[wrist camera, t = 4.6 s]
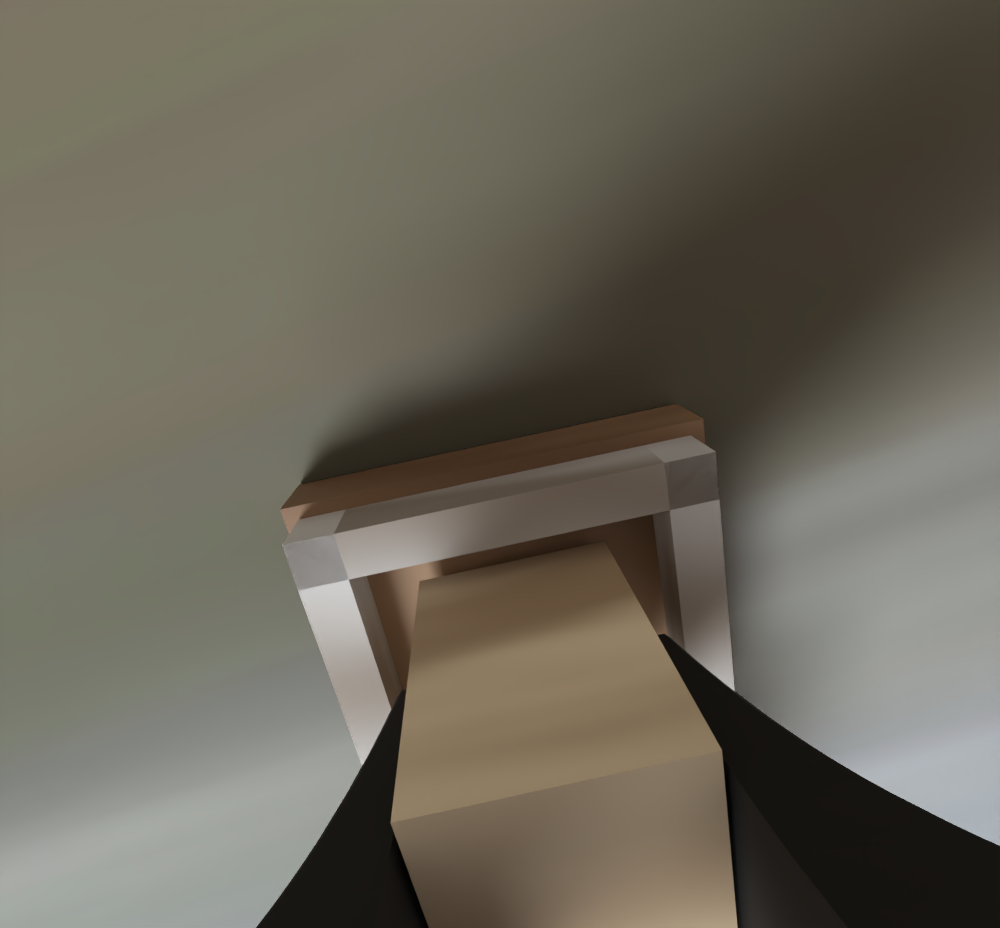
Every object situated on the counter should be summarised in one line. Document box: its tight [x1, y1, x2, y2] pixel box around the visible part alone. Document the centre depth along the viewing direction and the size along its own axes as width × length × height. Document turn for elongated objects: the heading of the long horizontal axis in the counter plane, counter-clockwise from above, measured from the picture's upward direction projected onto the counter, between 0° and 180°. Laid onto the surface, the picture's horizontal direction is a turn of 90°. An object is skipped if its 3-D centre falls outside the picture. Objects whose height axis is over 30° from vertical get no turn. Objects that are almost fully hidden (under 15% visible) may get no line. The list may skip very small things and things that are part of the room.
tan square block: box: [391, 541, 738, 928], centre depth 10 cm, size 5×4×6 cm
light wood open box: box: [280, 404, 735, 765], centre depth 12 cm, size 16×9×7 cm, turn 11°
